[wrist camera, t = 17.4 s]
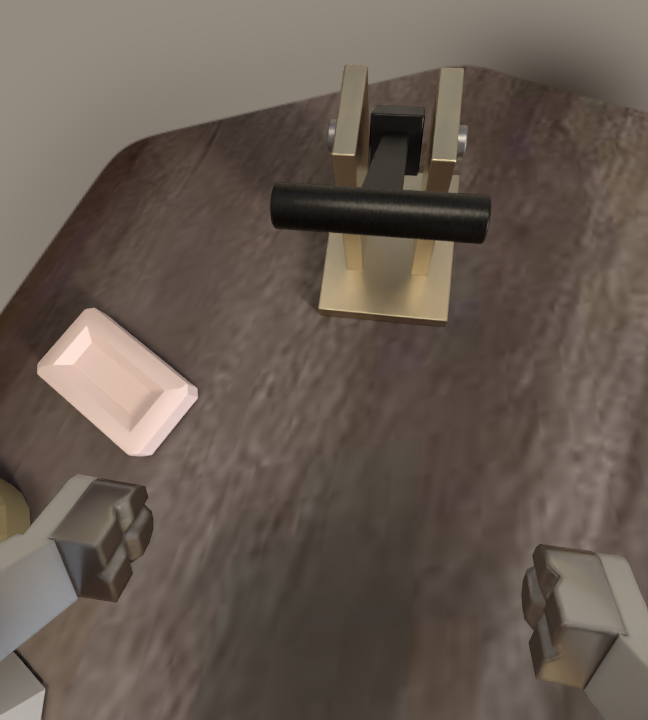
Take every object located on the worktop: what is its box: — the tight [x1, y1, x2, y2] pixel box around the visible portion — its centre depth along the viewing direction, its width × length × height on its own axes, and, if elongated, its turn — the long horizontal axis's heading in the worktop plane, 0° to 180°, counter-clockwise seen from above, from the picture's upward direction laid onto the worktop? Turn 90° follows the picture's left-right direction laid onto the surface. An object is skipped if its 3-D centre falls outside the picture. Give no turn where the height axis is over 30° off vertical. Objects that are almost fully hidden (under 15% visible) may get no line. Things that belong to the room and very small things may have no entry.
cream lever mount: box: [318, 65, 468, 327], centre depth 26 cm, size 10×8×13 cm
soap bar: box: [37, 308, 198, 456], centre depth 31 cm, size 5×9×2 cm, turn 52°
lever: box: [270, 105, 491, 244], centre depth 18 cm, size 13×6×2 cm
